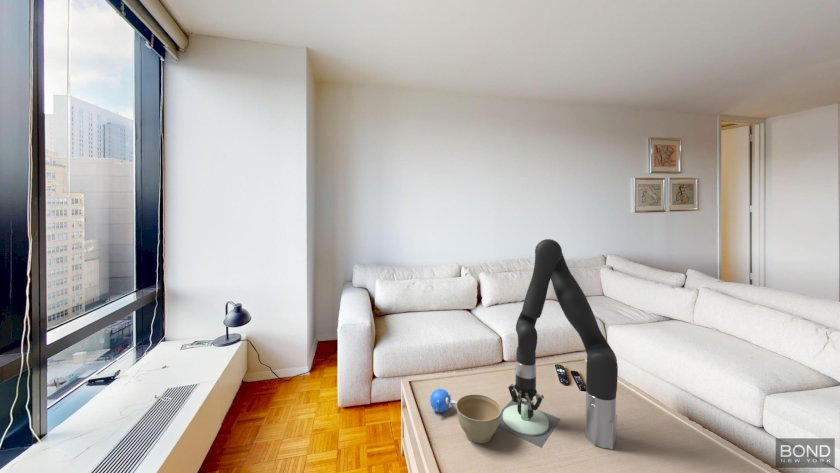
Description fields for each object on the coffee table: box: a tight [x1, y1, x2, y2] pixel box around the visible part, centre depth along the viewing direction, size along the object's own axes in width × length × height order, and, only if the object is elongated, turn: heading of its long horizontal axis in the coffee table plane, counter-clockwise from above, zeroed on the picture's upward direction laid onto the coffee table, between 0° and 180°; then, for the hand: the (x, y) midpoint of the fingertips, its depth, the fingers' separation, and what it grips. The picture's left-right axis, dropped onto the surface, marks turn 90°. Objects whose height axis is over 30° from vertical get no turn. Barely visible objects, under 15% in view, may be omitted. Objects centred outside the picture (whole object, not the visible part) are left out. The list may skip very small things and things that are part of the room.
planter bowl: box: [455, 393, 502, 444], centre depth 115 cm, size 16×16×11 cm
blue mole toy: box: [429, 388, 457, 413], centre depth 130 cm, size 12×12×8 cm
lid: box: [503, 400, 549, 436], centre depth 122 cm, size 17×17×7 cm
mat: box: [498, 399, 561, 448], centre depth 123 cm, size 20×20×1 cm
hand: (525, 415), depth 122 cm, fingers closed on lid, 3 cm apart
